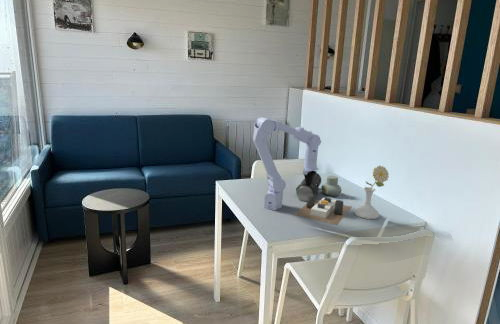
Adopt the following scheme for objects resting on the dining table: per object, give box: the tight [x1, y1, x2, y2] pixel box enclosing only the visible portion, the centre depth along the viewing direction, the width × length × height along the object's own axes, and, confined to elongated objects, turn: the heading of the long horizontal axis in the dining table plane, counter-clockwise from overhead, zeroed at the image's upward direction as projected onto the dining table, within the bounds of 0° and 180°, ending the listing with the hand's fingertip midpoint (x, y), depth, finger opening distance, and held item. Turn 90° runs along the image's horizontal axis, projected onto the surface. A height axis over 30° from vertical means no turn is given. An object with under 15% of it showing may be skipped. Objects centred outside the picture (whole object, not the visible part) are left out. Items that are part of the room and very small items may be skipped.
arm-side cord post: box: [306, 194, 316, 209], centre depth 173 cm, size 4×4×6 cm
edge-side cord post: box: [334, 199, 344, 215], centre depth 167 cm, size 4×4×6 cm
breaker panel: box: [293, 196, 352, 226], centre depth 171 cm, size 26×20×6 cm
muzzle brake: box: [295, 172, 322, 202], centre depth 195 cm, size 10×28×10 cm
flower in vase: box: [353, 165, 390, 220], centre depth 165 cm, size 13×11×25 cm
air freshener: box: [320, 175, 342, 197], centre depth 196 cm, size 11×8×10 cm
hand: (308, 185), depth 177 cm, fingers closed
